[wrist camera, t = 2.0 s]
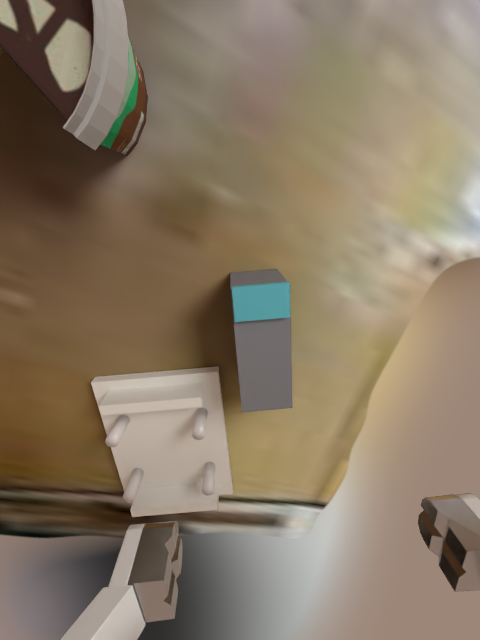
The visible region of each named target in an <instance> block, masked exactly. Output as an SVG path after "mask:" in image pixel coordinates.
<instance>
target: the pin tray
mask: <svg viewBox="0 0 480 640" xmlns="http://www.w3.org/2000/svg"><path fill="white" fill-rule="evenodd" d="M91 385H92V388H93V391H94V395H95V398H96V401H97V404H98V408H99V411H100V414H101V417H102V421H103V424H104V427H105V430H106V434H107V438H106V440H105V444H106V445H107V446H109V447H111V450H112V453H113V456H114V460H115V463H116V466H117V469H118V473H119V476H120V479H121V482H122V486H123V489H124V495H123V500H124V501H126V502H128V503H133V504H132V507H131V509H130V511H131V515H132V517H139V516H150V515H162V514H174V513H185V512H197V511H208V510H218V499H219V495H228V494H233V483H232V474H231V466H230V458H229V450H228V441H227V433H226V425H225V416H224V408H223V400H222V392H221V383H220V375H219V367H218V366H217V367H205V368H193V369H182V370H170V371H158V372H147V373H135V374H124V375H112V376H100V377H95V378H94V379H93V381H92V382H91Z"/></svg>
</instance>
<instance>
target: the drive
mask: <svg viewBox="0 0 480 640" xmlns="http://www.w3.org/2000/svg"><path fill="white" fill-rule="evenodd" d="M230 290H231V301H232V311H233V322H234V332H235V343H236V354H237V364H238V375H239V386H240V396H241V407H242V412H249V411H261V410H273V409H284V408H292V366H291V311H290V283H289V282H287V280H286V279H285V278H284V277H283V276H282V275H281V273H280V272H279V271H278V270H277V269H269V270H257V271H246V272H234V273H230Z"/></svg>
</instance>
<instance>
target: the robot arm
mask: <svg viewBox="0 0 480 640" xmlns="http://www.w3.org/2000/svg"><path fill="white" fill-rule="evenodd" d="M421 506H422V508H423V509H424V511H423V512H422V513H421V514H420V515H419V519H418V524H419V529H420V533H421V535H422V537H423V539H424V541H425V543H426V545H427V546H428V548H429V549H430V550H431V551H432V552H434V553H435V554H436V555H438V556H439V566H440V568H441V570H442V571H443V573H444V574H445V576H446V578H447V580H448V581H449V583H450V584H451V586H452V588H453V589H454V591H455V592H458V591H475V590H480V500H479V499H478V498H477V497H476V496H474V495H473V494H470V493H466V494H458V495H444V496H435V497H427V498H424V499H423V500H422V503H421ZM178 530H179V527H178V523H177V521H174V522H161V523H149V524H136V525H130V526H129V528H128V529H127V531H126V534H125V537H124V540H123V543H122V546H121V549H120V552H119V556H118V558H117V562H116V564H115V568H114V570H113V574H112V577H111V580H110V583H109V586H108V587H105V588H102V590H101V591H100V592H99V593H98V594H97V596H96V597H95V598H94V599H93V601H92V602H91V603H90V604H89V605H88V607H87V608H86V609H85V610H84V612H83V613H82V614H81V615H80V616H79V618H78V619H77V620H76V621H75V623H74V624H73V625H72V626H71V627H70V628H69V630H68V631H67V632H66V633H65V635H64V636H63V637H62V638H61V639H60V640H137V639H138V637H139V636H140V634H141V632H142V630H143V629H144V627H145V622H152V621H160V620H168V619H174V618H175V611H176V603H177V596H178V587H177V583H176V579H177V577H178V576H179V574H180V573H181V566H182V551H183V549H182V540H181V537H180V536H179V535H178Z"/></svg>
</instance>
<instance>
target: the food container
mask: <svg viewBox="0 0 480 640" xmlns="http://www.w3.org/2000/svg"><path fill="white" fill-rule="evenodd" d="M0 46H1V47H2V48H3V49H4V51H5V52H6V53H7V54H8V55H9V56H10V57H11V58H12V60H13V61H14V62H15V63H16V64H17V65H18V66H19V67H20V69H21V70H22V71H23V72H24V73H25V74H26V75H27V76H28V78H29V79H30V80H31V81H32V82H33V83H34V84H35V86H36V87H37V88H38V89H39V90H40V91H41V92H42V94H43V95H44V96H45V97H46V98H47V99H48V100H49V101H50V103H51V104H52V105H53V106H54V107H55V108H56V109H57V110H58V112H59V113H60V114H61V115H62V116H63V117H64V118H65V119H66V121H67V122H66V123H65V125H64V126H63V128H64V129H65V130H67V131H68V132H70V133H72V134H73V135H74V136H75V137H76V138H77V139H78V140H80V141H81V142H83V143H84V144H86V145H88V146H89V147H91V148H92V149H94V150H96V149H97V148H98V147H99V145H102V146H105V147H107V148H110V149H112V150H114V151H117V152H119V153H122V154H124V155H127V156H128V155H129V153H130V152H131V151H132V150H133V148H134V147H135V146H136V144H137V143H138V140H139V138H140V135H141V133H142V130H143V128H144V125H145V123H146V113H147V101H148V96H147V90H146V85H145V79H144V74H143V70H142V68H141V66H140V63H139V61H138V59H137V57H136V54H135V52H134V50H133V47H132V45H131V43H130V41H129V38H128V32H127V21H126V14H125V9H124V4H123V0H0Z"/></svg>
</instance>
